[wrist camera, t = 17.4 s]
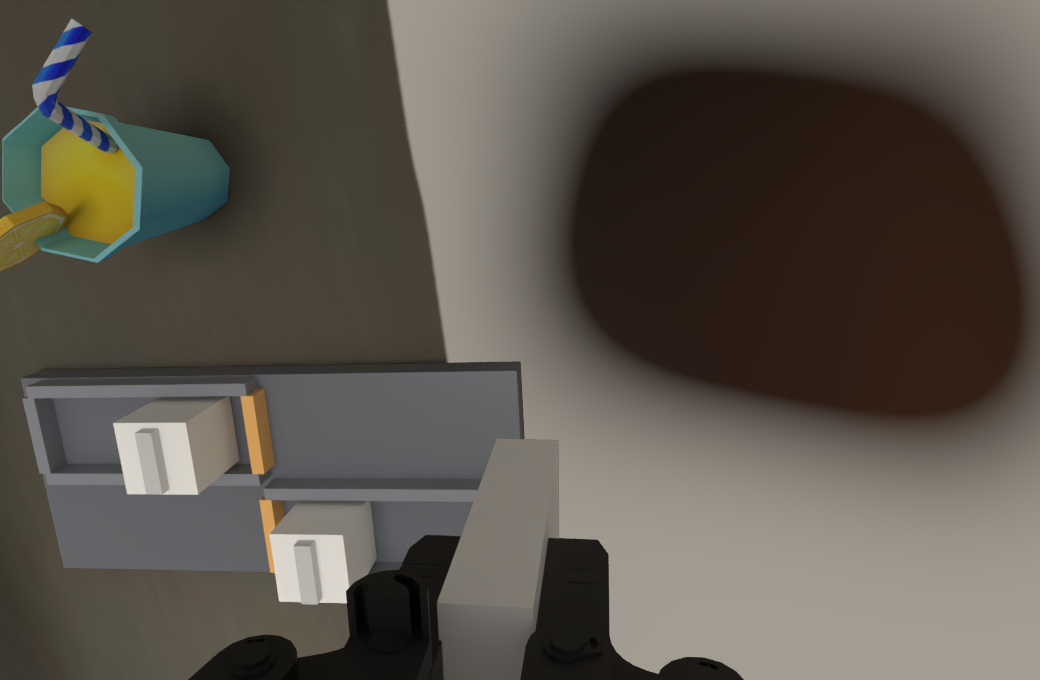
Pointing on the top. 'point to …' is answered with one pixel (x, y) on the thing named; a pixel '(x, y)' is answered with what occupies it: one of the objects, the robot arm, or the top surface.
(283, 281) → the top surface
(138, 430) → the tab
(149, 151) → the cup
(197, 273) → the top surface
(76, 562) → the switch bank
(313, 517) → the tab
